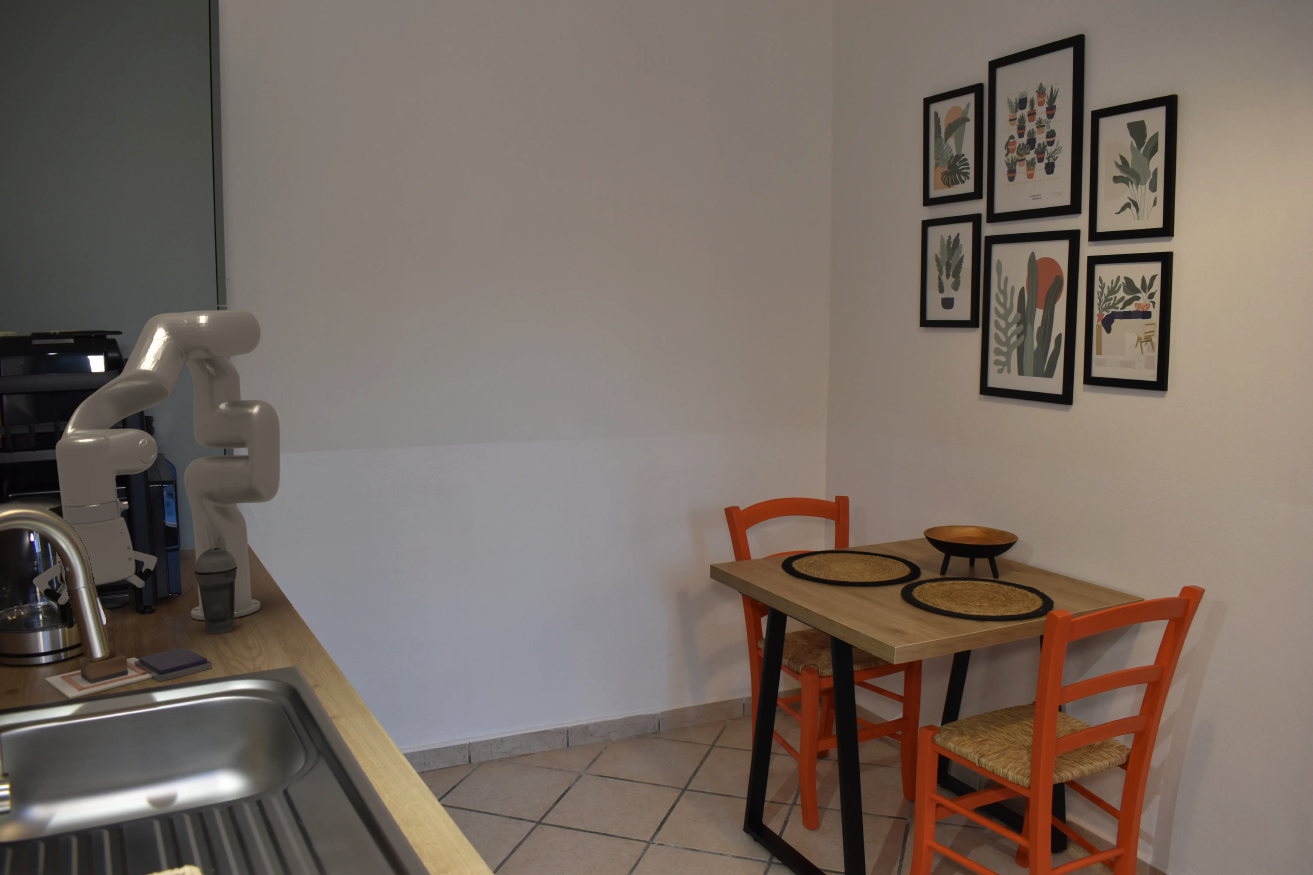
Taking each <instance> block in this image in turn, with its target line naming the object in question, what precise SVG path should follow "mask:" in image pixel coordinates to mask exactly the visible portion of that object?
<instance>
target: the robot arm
mask: <svg viewBox="0 0 1313 875" xmlns="http://www.w3.org/2000/svg"><path fill="white" fill-rule="evenodd" d="M261 333H262V332H261V326H260V323H259V320H258V319H257V317H255V315H254V314H253V313H251V312H250V311H248V310H245V309H222V310H221V309H220V310H190V311H189V310H188V311H184V312H183V311H182V312H165V313H159V314H156V315H154V316H152V317H151V318H150V319H148V320H147V321H146V322H145V325H144V327H143V329H142V330H141V332H140V334H139V337H138V339H137V341H136V342H135V345H134V347H133V349H132V351H131V353H130V355H129V357H128V359H127V361H126V364H125V366H124V368H123V369H122V372H121V373H120V374H119V375H118V376H116V377H115V378H113V379H112V380H110V381H109V382H108V383H106V384H105V385H102V386H101V387H100V388H99V389H97V390H96V391H95V392H94V393H92V394H91V395H89V396H88V397H87V398H86V399H85V400H83V401H82V402H81V403H80V404H79V406H77V407H76V409H75V410H74V412H73V414H72V415H71V417H70V419H69V420H68V423H67V425H65V429H64V431H63V433H62V435H61V438H60V439H59V440H58V442H56V445H55V456H56V463H57V464H56V466H57V474H58V475H57V476H58V483H59V490H60V491H59V492H60V499H61V510H62V518H63V521H64V520H66V521H67V522H68V523H69V524H70V525H71V526H72V527H73V529H74V530H75V531H76V533H77V534H78V536H79V537H80V538H81V540H82V542H83V544H84V546H85V548H86V550H87V553H88V556H89V558H90V563H91V567H92V573H93V577H94V582H95V585H96V586H100V585H107V584H110V583H115V582H120V581H124V580H126V581H127V582H129V585H128V587H127V592H128V593H127V594H128V603H129V610H131V611H133V612H135V613H137V614H138V613H141V612H142V607H141V606H143V605H144V595H143V594H144V593H143V587H145V583H146V582H147V580H148V579H149V578H150V577H151V576H152V574H153V570H155V569H154V568H155V566H156V564H157V562H158V557H156V556H155V555H152V554H151V555H150V554H149V553H148V554H147V553H144V552H140V551H137V550H133V544H132V540H131V539H132V538H131V535H130V532H129V529H128V526H127V523H126V520H125V517H122V516H121V514H122V512H123V511H125V510H128V509H129V503H128V501H127V500H125V501H122V500H120V499H118V492H117V490H118V489H117V482H116V477H117V476H121V475H123V476H124V475H135V474H139V473H143V472H144V471H146V470H148V469H149V468H150V467H151V466H152V465H153V464H154V463H155V462H156V459H157V457H158V449H159V448H158V445H157V442H156V440H155V438H153V436H152V435H151V434H149V433H148V432H146V431H144V430H141V429H137V428H112V427H113V426H114V425H115V424H117V423H118V422H120V421H122V420H123V419H125V418H127V417H129V416H132V415H135V414H137V413H139V412H143V411H146V410H148V409H151V408H152V407H155V406H156V405H159V404H162V403H163V402H165V401H167V400H168V399H169V398H170V397H172V395H173V394H174V391H175V389H176V386H177V385H178V381H179V379H180V376H181V374H182V373H183V370H184V368H185V365H186V366H187V367H188V369H189V372H190V373H191V378H192V390H193V391H192V392H193V394H192V395H193V398H192V401H193V403H192V405H193V406H192V407H193V408H192V409H193V412H192V414H193V416H192V417H193V418H192V419H193V420H192V421H193V424H192V425H193V436H194V439H195V441H196V442H197V444H198V445H200V446H201V447H203V448H207V449H219V450H220V449H221V450H222V449H247V453H248V454H243V455H241V454H240V455H239V454H236V455H234V454H229V455H228V454H226V455H225V454H224V455H221V454H220V455H207V456H203V457H198V458H196V459H194V460H193V461H191V462H190V463H189V464H188V465H187V466H186V469H185V471H184V475H183V483H184V488H185V492H186V495H187V498H188V502H189V506H190V510H191V511H190V512H191V516H192V524H193V525H192V526H193V534H194V547H195V550H194V551H195V552H194V553H195V563H196V562H197V560H198V558H199V556H200V555H201V554H202V553H203V552H205V551H206V550H208V549H210V544H209V538H208V532H207V526H206V525H210V531H211V537H212V543H213V548H222V549H225V550H227V551H228V552H230V553H231V554H232V555H233V557H234V559H235V562H236V565H237V569H236V579H235V603H234V619H235V618H240V617H244V616H248V615H250V614H253V613H255V612H257V611H259V610H260V609H261V602H260V600H257V599H255V598H254V599H253V598H252V588H251V573H250V558H249V546H248V545H249V542H248V534H247V533H248V529H247V528H248V526H247V523H246V520H245V517H244V515H243V514H242V512H241V511H240V509H239V508H238V507H237V505H236V504H250V503H251V504H255V503H257V504H258V503H266V502H269V501H272V500H273V499H274V498H275V497H276V495H277V494H278V491H279V488H280V482H281V481H280V480H281V428H280V420H279V416H278V414H277V411H276V409H275V408H274V407H273V405H272V404H270V402H267V401H265V400H261V399H245V400H244V399H242V398H241V378H240V373H239V371H238V370H237V368H236V367H235V365H234V363H232V361H231V360H230V358H231V357H236V356H241V355H247V354H249V353H252V352H254V350H256V348H257V347H258V346H259V343H260V340H261ZM55 552H56V551H55ZM55 557H56V564H54V565H53V566H51V567H49V568H48V569H47V570H45V571H43V572H42V573H40V574H39V575H37V576H36V577H35V578H34V579H32V583H33V585H35V586H36V588H37V590H39V591H40V593H41V594H42V595H43V596H45V597H47V598H49V599H51V601H52V600H53V601H55V602H56V609H57V617H58V618H57V619H58V622H59V623H60V624H63V626H64V627H65V628H67V629H72V628H73V627H75V624H74V615H73V607H72V608H71V605H72V603H71V602H70V601H69V600H70V598H69V596H68V592H67V585H66V581H65V570H64V566H63V564H62V561H61V559H60V557H59V556H58V554H57V552H56V556H55ZM135 560H136V561H141V562H143V567H142V568H141V569H140V570H139V572H138V573H137V574H135V573H136V561H135ZM55 577H57V581H58V583H59V584H60V586H59V587H58V589H57V591H55V589H52V588H51V586H50V585H49V581H51V580H52V579H54V578H55ZM197 591H198V593H197V594H198V603H199V605H198V606H195V607H193V608H192V610H191V611H190V615H191V618H192V619H195V620H199V621H205V619H204V613H203V607H202V601H201V595H200V590H199V584H198V583H197ZM70 603H71V604H70Z"/></svg>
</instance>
